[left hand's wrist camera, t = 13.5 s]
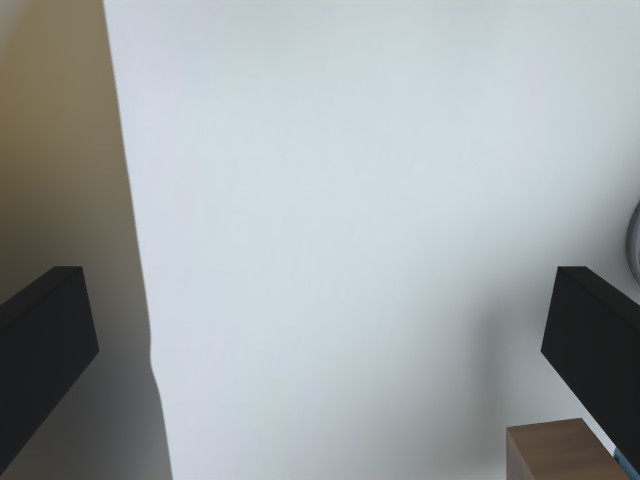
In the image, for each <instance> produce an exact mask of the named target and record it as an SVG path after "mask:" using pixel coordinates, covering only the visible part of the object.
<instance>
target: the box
mask: <svg viewBox="0 0 640 480" xmlns="http://www.w3.org/2000/svg"><path fill="white" fill-rule="evenodd" d="M506 475H507V480H631V479H630V478H629V477H628V476H627V474H626V473H625V472H624V471H623V469H622V468H621V467H620V466H619V464H618V463H617V462H616V461H615V459H614V458H613V457H612V456H611V454H610V453H609V452H608V450H607V449H606V448H605V447H604V445H603V444H602V443H601V442H600V440H599V439H598V438H597V437H596V435H595V434H594V433H593V432H592V430H591V429H590V428H589V427H588V425H587V424H586V423H585V422H584V420H583V419H582V418H576V419H568V420H560V421H553V422H545V423H537V424H529V425H522V426H514V427H507V428H506Z"/></svg>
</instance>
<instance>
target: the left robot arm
mask: <svg viewBox="0 0 640 480" xmlns="http://www.w3.org/2000/svg"><path fill="white" fill-rule="evenodd" d="M626 249H627V259H628V263H629V267H630V269H631V271H632V274H633V275H634V277H635V279H636V280H637V281H638V282H639V284H640V205H639V206H638V208H637V210H636V212H635V214H634V216H633V218H632V221H631V224H630V227H629V231H628V236H627V245H626ZM98 352H99V347H98V342H97V337H96V333H95V327H94V323H93V318H92V313H91V308H90V303H89V298H88V293H87V288H86V284H85V278H84V274H83V269H82V267H81V266H79V267H77V266H75V267H74V266H56V267H53V268H52V269H50V270H49V271H47V272H46V273H45V274H43V275H42V276H40V277H39V278H38V279H36V280H35V281H34V282H32V283H31V284H29V285H28V286H27V287H25V288H24V289H23V290H21V291H20V292H18V293H17V294H16V295H14V296H13V297H11V298H10V299H9V300H7V301H6V302H5V303H3V304H2V305H0V476H1V474H2V473H3V472H4V471H5V469H6V468H7V467H8V466H9V464H10V463H11V462H12V461H13V459H14V458H15V457H16V456H17V454H18V453H19V452H20V451H21V449H22V448H23V447H24V446H25V444H26V443H27V442H28V440H29V439H30V438H31V437H32V435H33V434H34V433H35V432H36V430H37V429H38V428H39V427H40V425H41V424H42V423H43V422H44V420H45V419H46V418H47V417H48V415H49V414H50V413H51V412H52V410H53V409H54V408H55V406H56V405H57V404H58V403H59V401H60V400H61V399H62V398H63V396H64V395H65V394H66V393H67V391H68V390H69V389H70V388H71V386H72V385H73V384H74V383H75V381H76V380H77V379H78V378H79V376H80V375H81V374H82V373H83V371H84V370H85V369H86V368H87V366H88V365H89V364H90V363H91V361H92V360H93V359H94V358H95V356H96V355H97V354H98ZM541 352H542V354H543V355H544V356H545V358H546V359H547V360H548V361H549V363H550V364H551V365H552V366H553V368H554V369H555V370H556V371H557V373H558V374H559V375H560V376H561V378H562V379H563V380H564V381H565V383H566V384H567V385H568V386H569V388H570V389H571V390H572V391H573V393H574V394H575V395H576V396H577V398H578V399H579V400H580V402H581V403H582V404H583V405H584V407H585V408H586V409H587V410H588V412H589V413H590V414H591V415H592V417H593V418H594V419H595V420H596V422H597V423H598V424H599V425H600V427H601V428H602V429H603V430H604V432H605V433H606V434H607V435H608V437H609V438H610V439H611V441H612V442H613V443H614V444H615V446H616V448H615V451H614V455H613V458H614V459H615V461H616V462H617V463H618V464H619V466H620V467H621V468H622V469H623V471H624V472H625V473H626V474H627V476H628V477H629V478H630V479H631V480H640V305H638V304H637V303H635V302H634V301H633V300H631V299H630V298H629V297H627V296H626V295H624V294H623V293H622V292H620V291H619V290H618V289H616V288H615V287H613V286H612V285H611V284H609V283H608V282H606V281H605V280H604V279H602V278H601V277H600V276H598V275H597V274H595V273H594V272H593V271H591V270H590V269H589V268H587V267H586V266H558V269H557V274H556V278H555V283H554V288H553V293H552V298H551V303H550V308H549V313H548V318H547V323H546V327H545V332H544V337H543V342H542V347H541Z"/></svg>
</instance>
